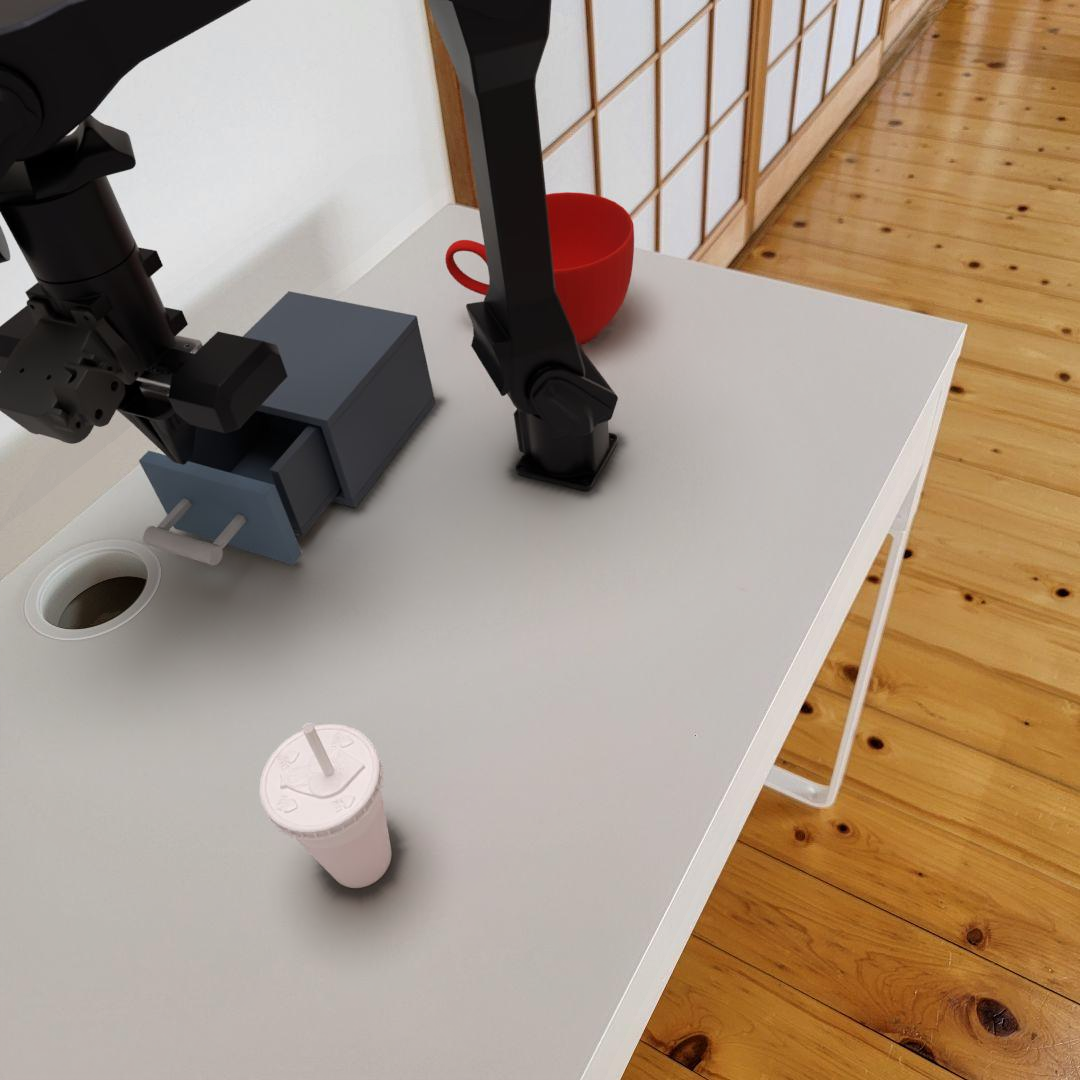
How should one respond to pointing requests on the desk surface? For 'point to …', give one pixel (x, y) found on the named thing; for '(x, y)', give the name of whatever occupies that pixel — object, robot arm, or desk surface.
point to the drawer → (244, 489)
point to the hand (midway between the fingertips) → (183, 459)
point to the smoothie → (330, 800)
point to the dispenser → (349, 381)
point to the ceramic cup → (578, 259)
